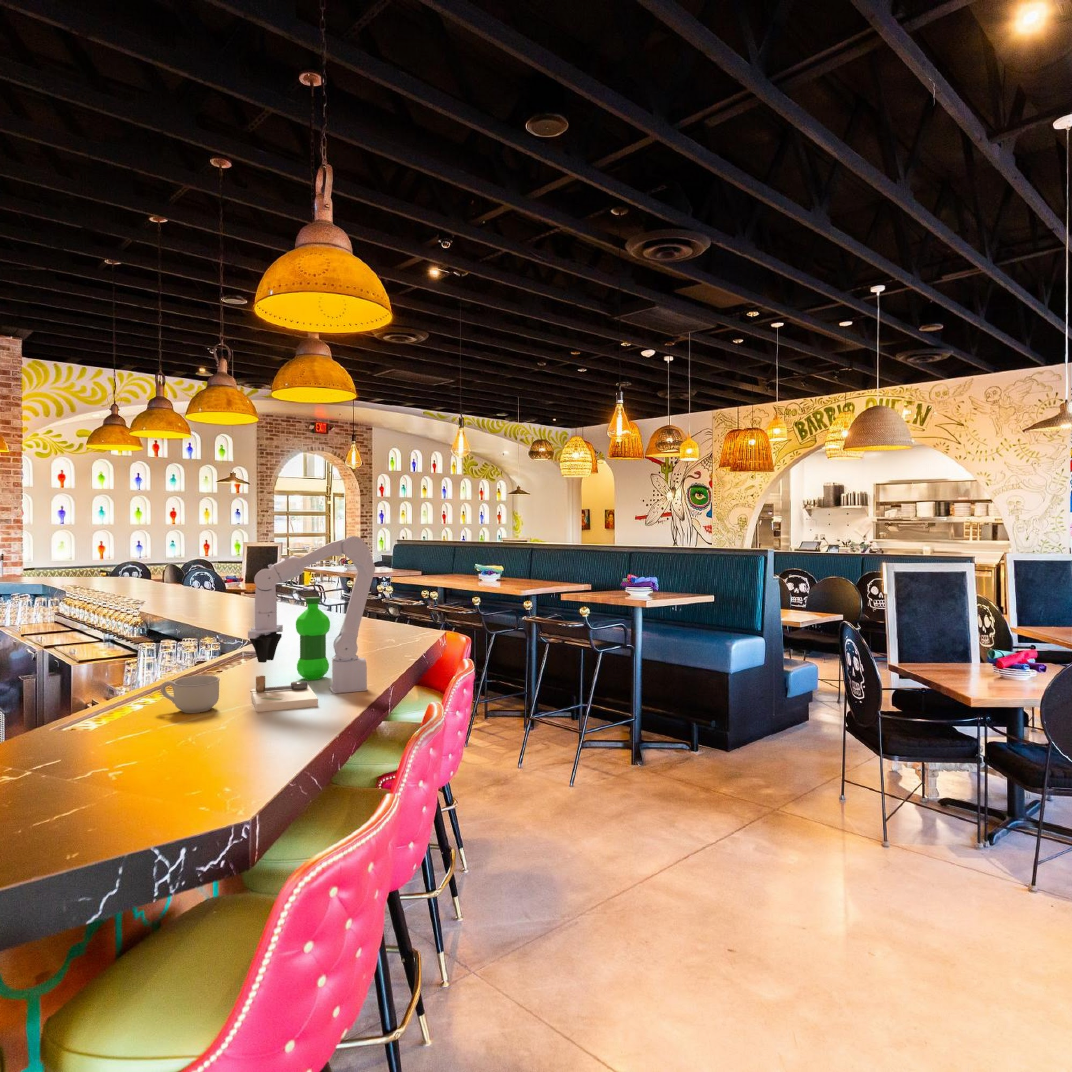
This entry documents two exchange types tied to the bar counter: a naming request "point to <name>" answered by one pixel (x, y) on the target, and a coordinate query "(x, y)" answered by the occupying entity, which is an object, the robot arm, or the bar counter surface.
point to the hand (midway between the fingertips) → (265, 661)
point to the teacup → (193, 693)
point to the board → (283, 699)
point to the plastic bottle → (312, 641)
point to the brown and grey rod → (294, 685)
